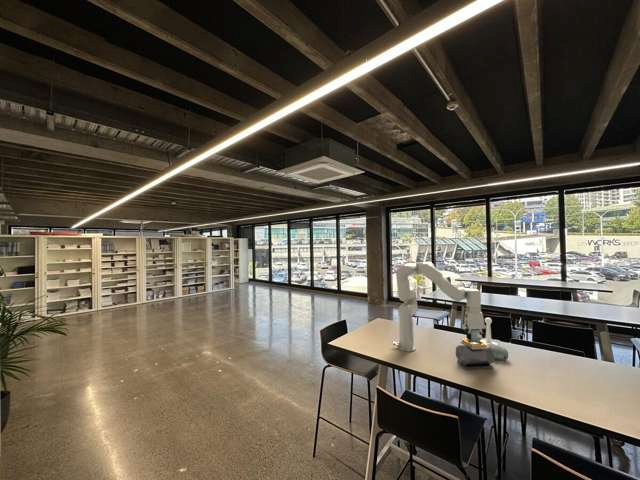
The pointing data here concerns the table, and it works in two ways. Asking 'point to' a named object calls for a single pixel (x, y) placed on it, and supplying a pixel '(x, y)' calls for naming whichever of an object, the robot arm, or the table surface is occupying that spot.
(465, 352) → the motor
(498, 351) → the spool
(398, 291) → the robot arm
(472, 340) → the pump
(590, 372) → the table surface
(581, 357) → the table surface
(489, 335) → the joystick
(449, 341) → the table surface
